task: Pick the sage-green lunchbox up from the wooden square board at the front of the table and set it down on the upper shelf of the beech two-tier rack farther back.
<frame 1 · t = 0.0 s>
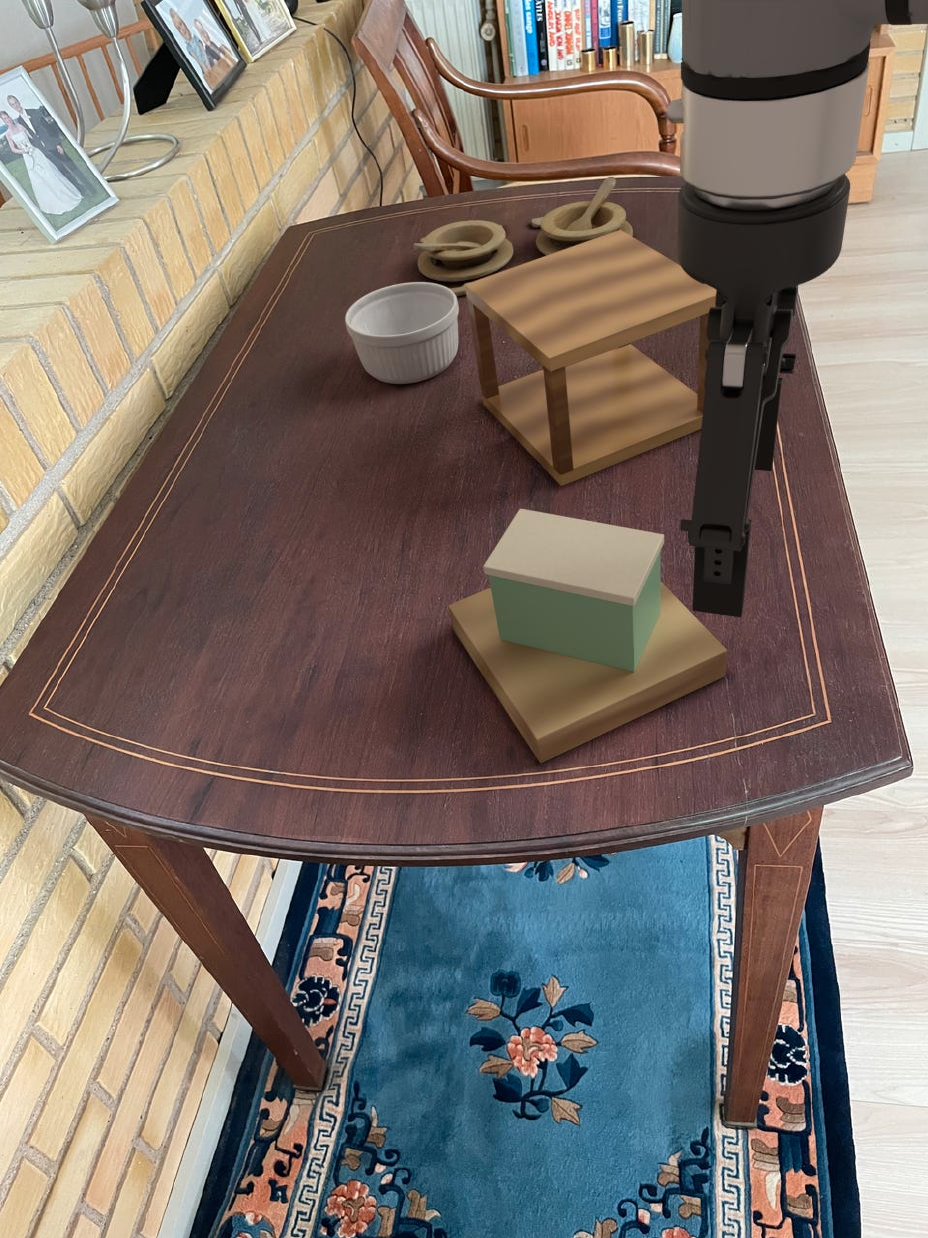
hand: (735, 533, 57), 17 cm above the table, tool pointing down, fingers open, 13 cm apart
rack: (595, 412, 97), on the table
wooden square board: (582, 652, 74), on the table
ramekin: (412, 362, 111), on the table
tableware set: (524, 253, 127), on the table
lunchbox: (579, 626, 72), point 3 cm above the table, touching wooden square board
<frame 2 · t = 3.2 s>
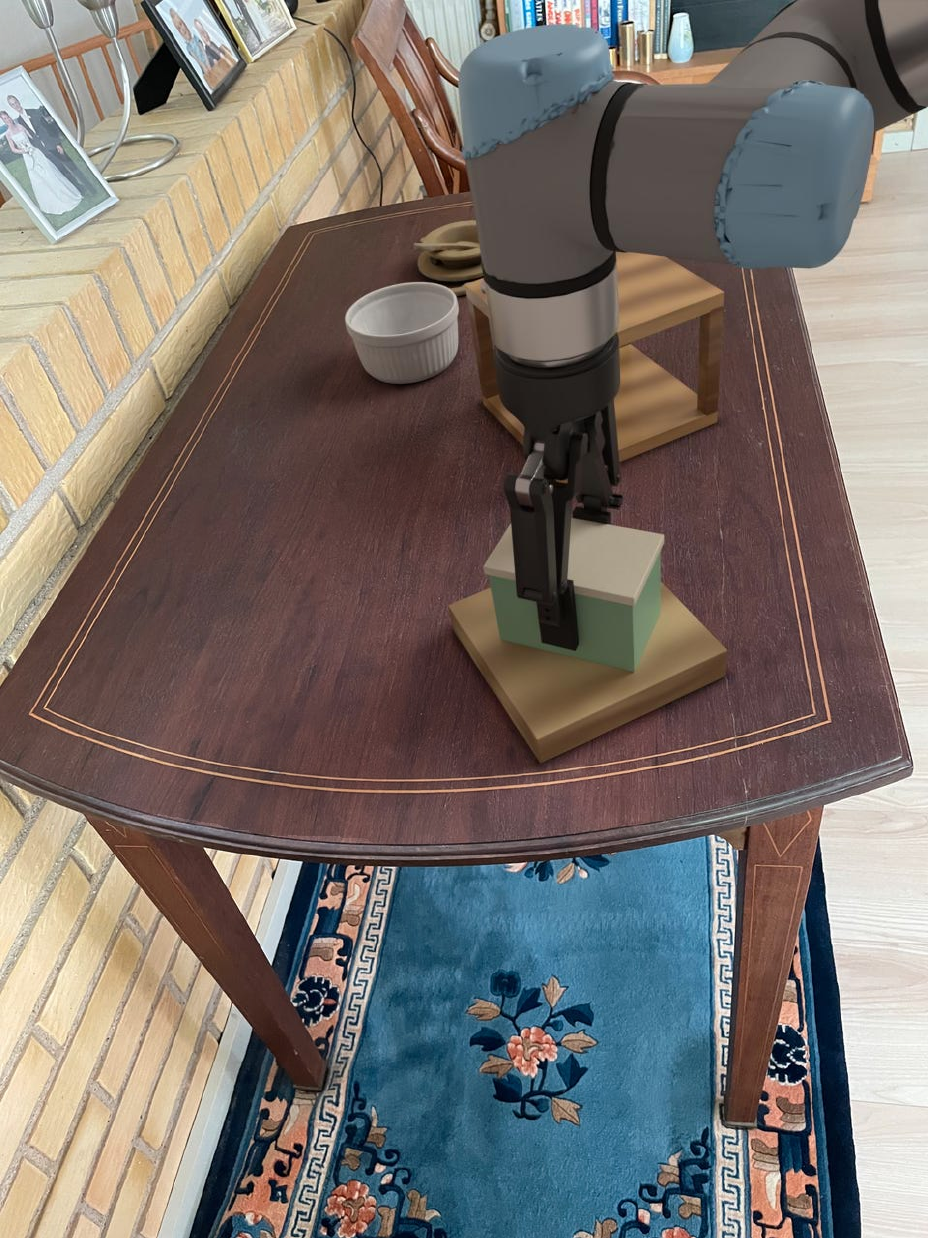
hand: (578, 608, 70), 5 cm above the table, tool pointing down, fingers closed on lunchbox, 7 cm apart
lunchbox: (580, 626, 72), point 3 cm above the table, touching gripper, wooden square board
everything else where it was.
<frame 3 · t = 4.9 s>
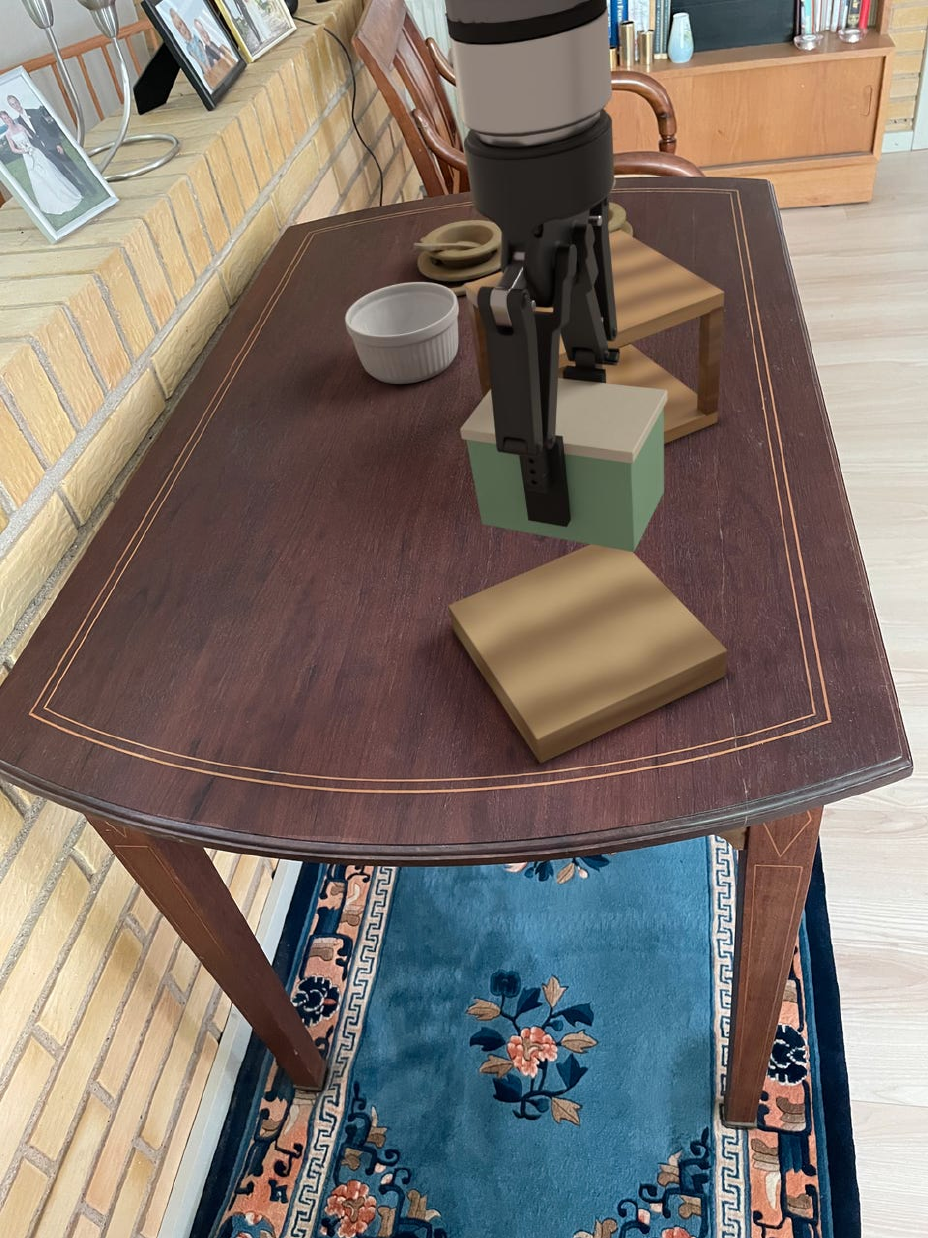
hand: (570, 484, 62), 17 cm above the table, tool pointing down, fingers closed on lunchbox, 7 cm apart
lunchbox: (572, 508, 63), point 15 cm above the table, touching gripper
everything else where it was.
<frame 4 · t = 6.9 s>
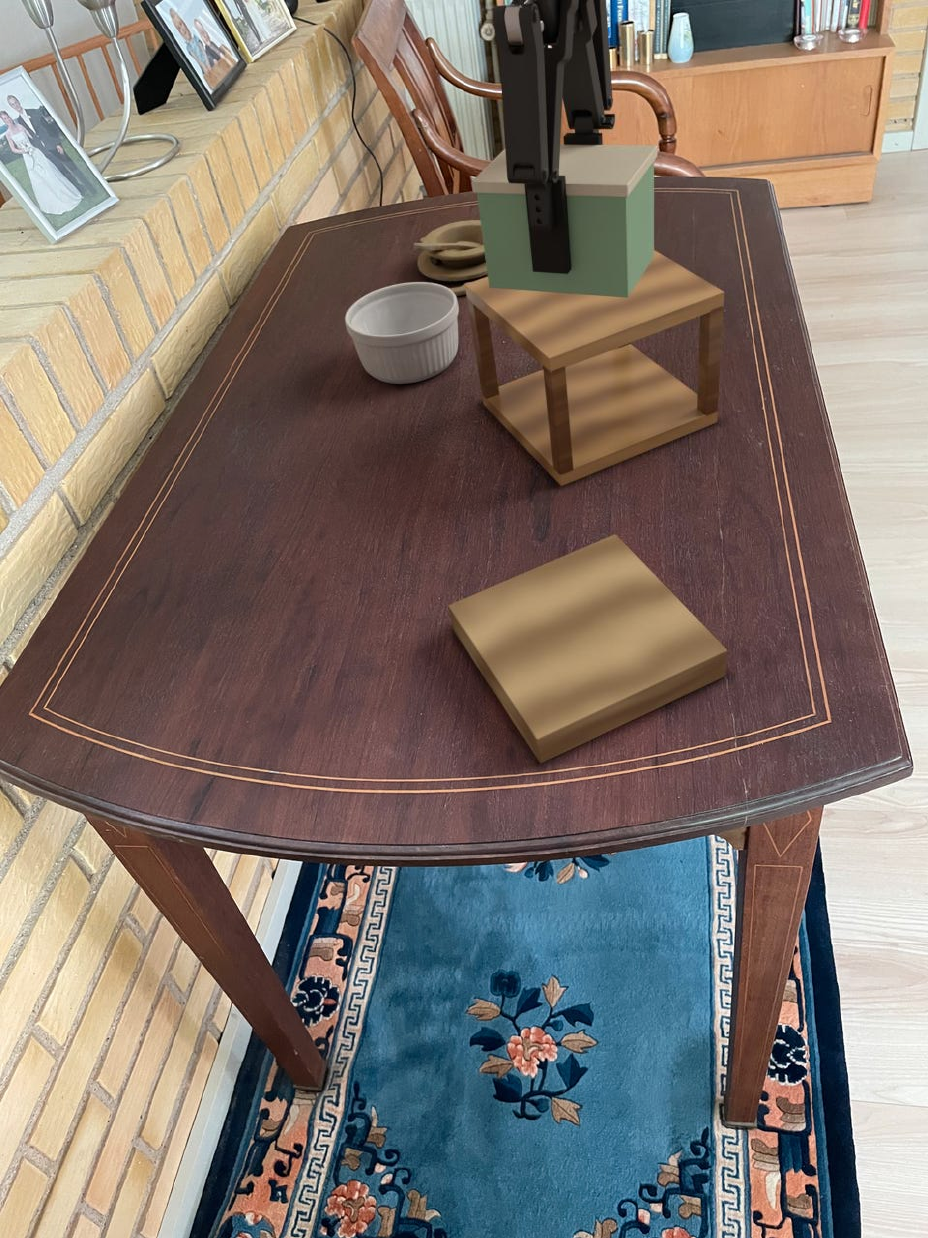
hand: (570, 246, 69), 25 cm above the table, tool pointing down, fingers closed on lunchbox, 7 cm apart
lunchbox: (571, 272, 70), point 23 cm above the table, touching gripper
everything else where it was.
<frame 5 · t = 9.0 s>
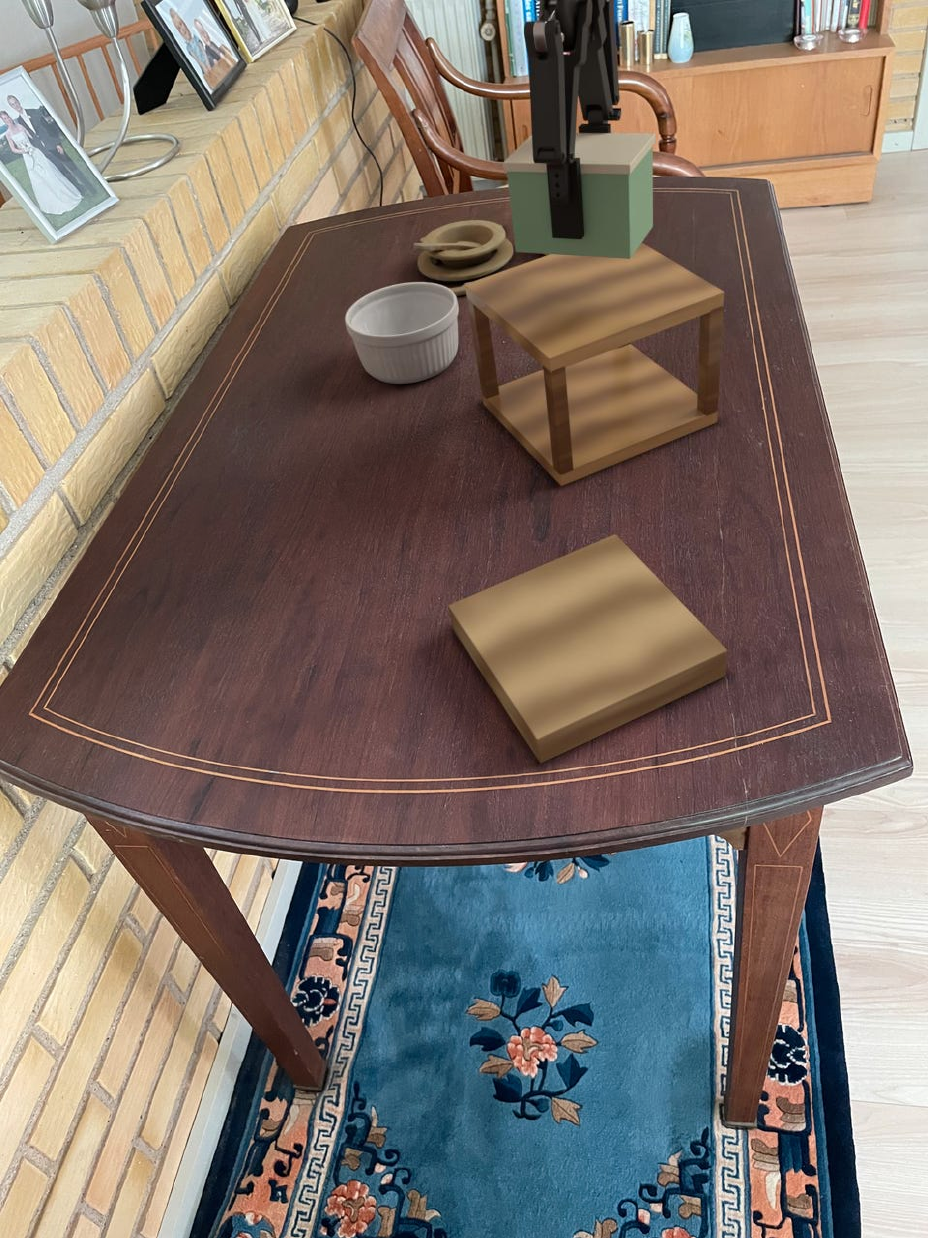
hand: (583, 217, 83), 21 cm above the table, tool pointing down, fingers closed on lunchbox, 7 cm apart
lunchbox: (584, 239, 84), point 19 cm above the table, touching gripper
everything else where it was.
when the fingers open (16 cm above the table, at t = 10.6 s): lunchbox stays where it is, resting on rack.
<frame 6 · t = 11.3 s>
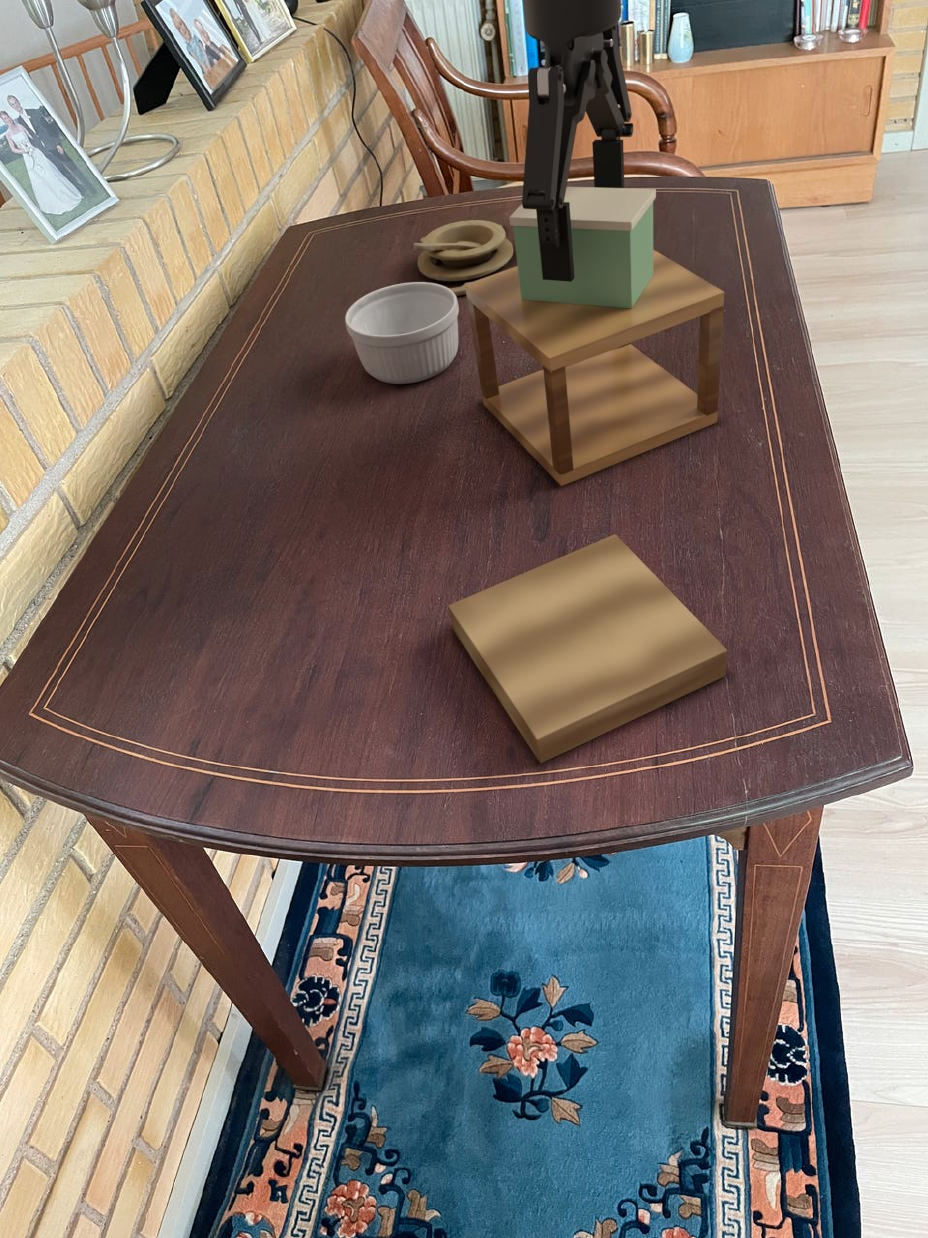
hand: (585, 244, 84), 18 cm above the table, tool pointing down, fingers open, 13 cm apart
lunchbox: (587, 287, 88), point 14 cm above the table, touching rack
everything else where it was.
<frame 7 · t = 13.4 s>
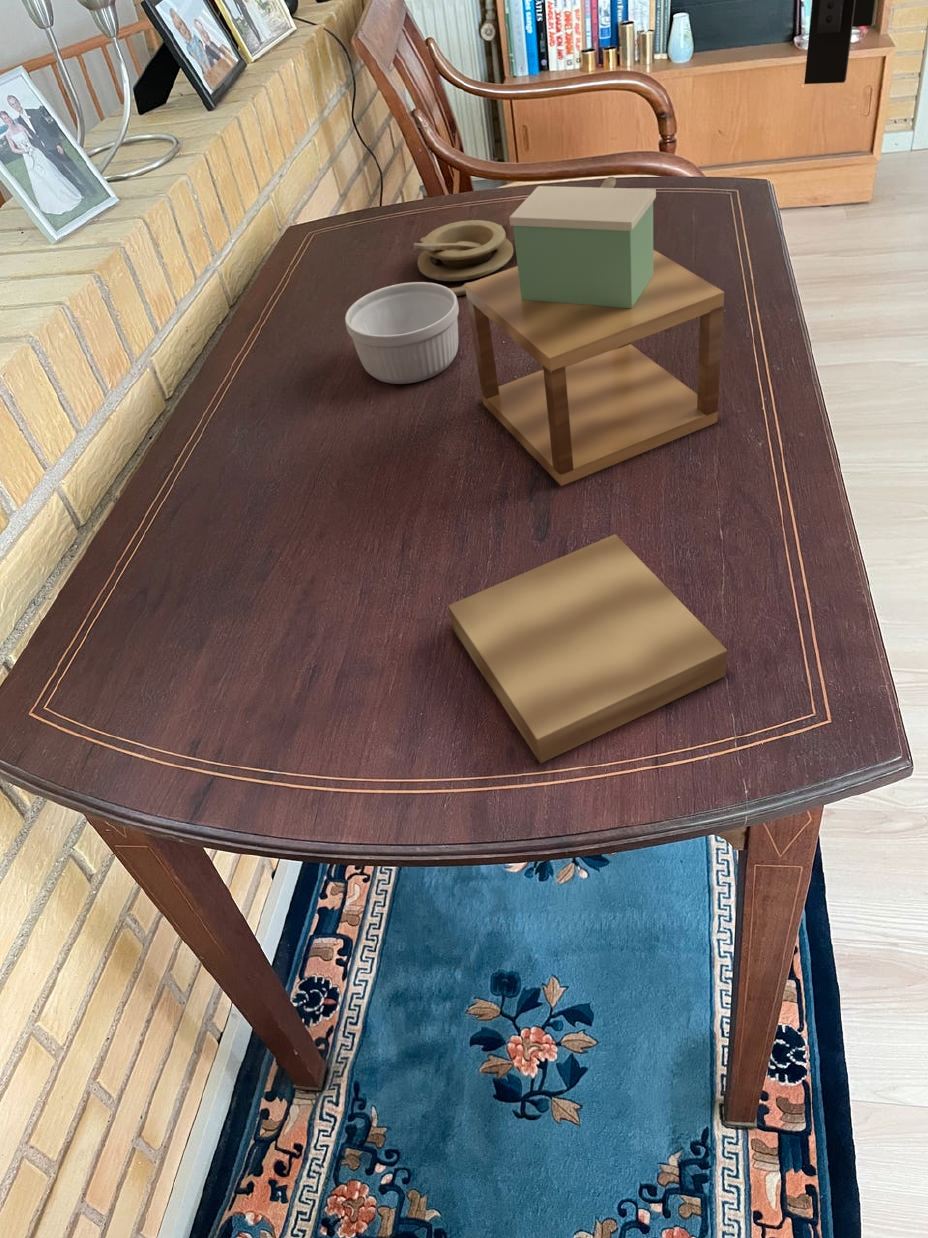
hand: (840, 52, 69), 32 cm above the table, tool pointing down, fingers open, 13 cm apart
nothing on the table moved.
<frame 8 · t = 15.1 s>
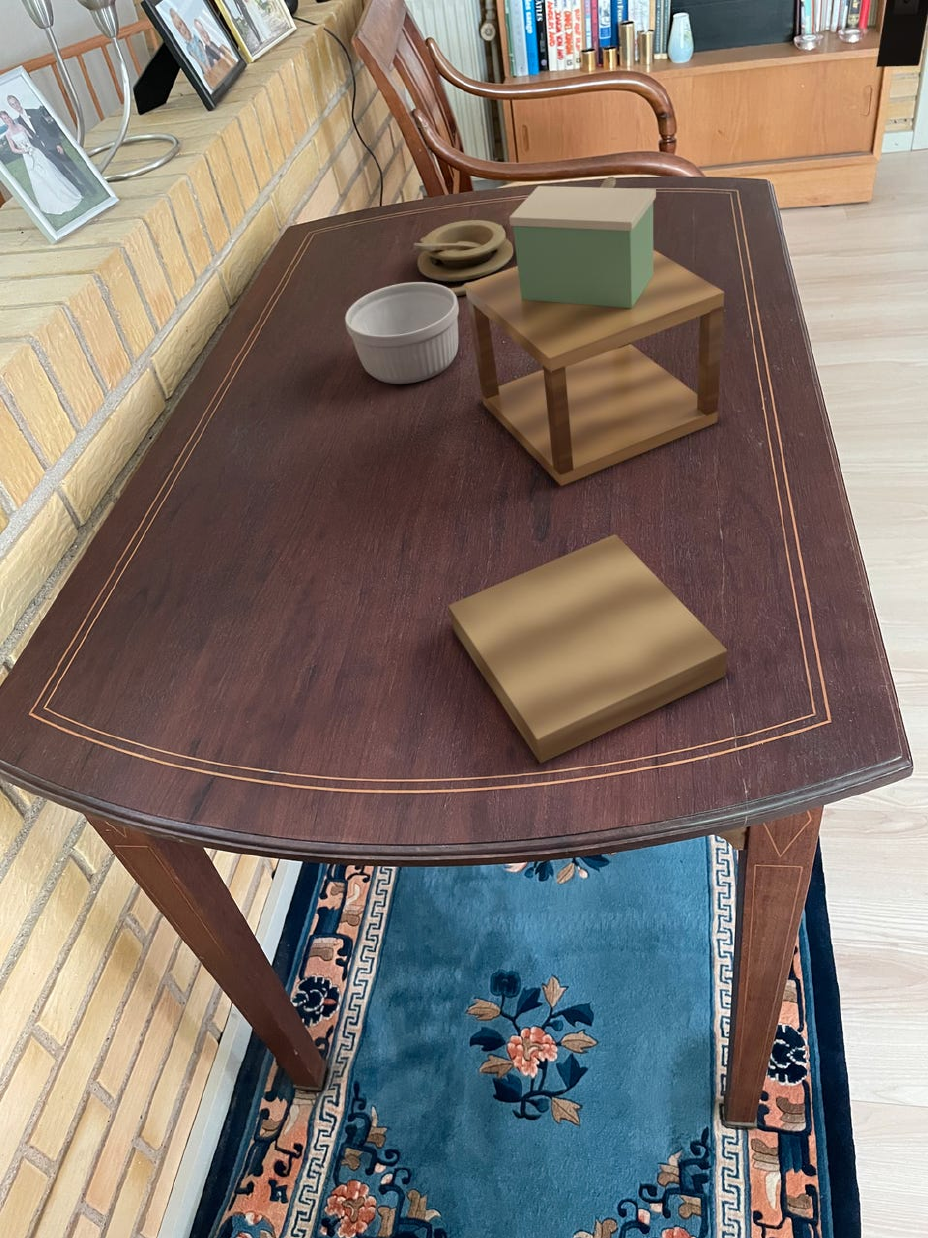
hand: (911, 34, 68), 33 cm above the table, tool pointing down, fingers open, 13 cm apart
nothing on the table moved.
at the end: lunchbox inside the target area on the rack (0.1 cm from its centre), point 14.0 cm above the rack's base; lunchbox tilted 0°; the gripper is holding nothing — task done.
